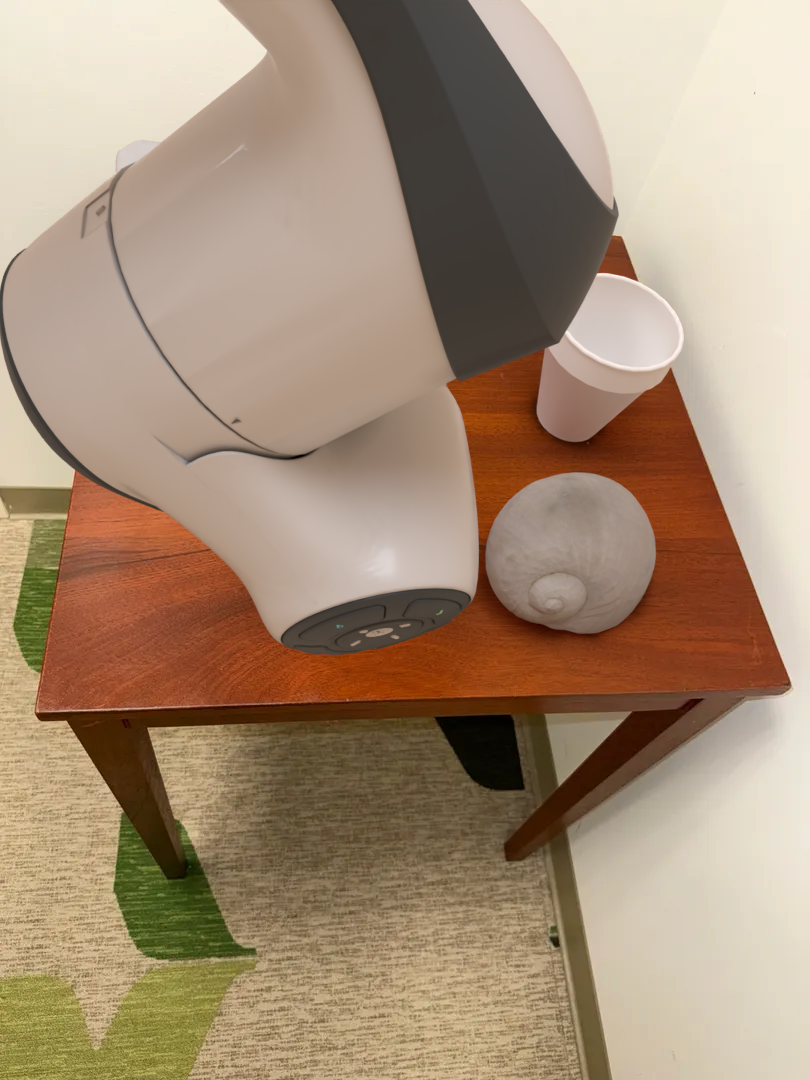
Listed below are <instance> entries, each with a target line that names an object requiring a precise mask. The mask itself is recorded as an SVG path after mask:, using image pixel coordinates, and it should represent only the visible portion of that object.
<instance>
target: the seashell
mask: <svg viewBox="0 0 810 1080" xmlns="http://www.w3.org/2000/svg"><path fill="white" fill-rule="evenodd" d="M656 559H657V548H656V538H655V534H654V529H653V527H652V524H651V522H650V519H649V517H648V514H647V513H646V512H645V510H644V508H643V507H642V505H641V503H639V501H638V500H637V498H636V497H635V495H633V493H632V492H631V491H630V490H628V489H627V488H625V487H624V486H623V485H622V484H620V483H618V482H617V481H616V480H613V479H611V478H609V477H607V476H603V475H600V474H596V473H591V472H580V471H579V472H577V471H576V472H575V471H573V472H565V473H559V474H554V475H550V476H548V477H544V478H541V479H538V480H535V481H533V482H531V483H529V484H527V485H526V486H525V487H523V488H522V489H520V490H519V491H518V492H516V493H515V494H514V495H513V496H512V497H511V498H510V499H508V501H507V502H506V504H504V505H503V507H502V508H501V510H500V511H499V512H498V514H497V515H496V517H495V518H494V521H493V523H492V525H491V528H490V529H489V534H488V536H487V539H486V546H485V571H486V574H487V578H488V581H489V584H490V586H491V589H492V591H493V593H494V594H495V596H496V597H497V599H498V600H499V602H500V603H501V604H502V605H503V606H504V607H505V608H506V609H507V610H508V612H511V613H512V614H513V615H515V616H516V617H517V618H519V619H522V620H524V621H526V622H529V623H532V624H537V625H538V624H539V625H543V626H546V627H547V628H548V629H552V630H555V631H557V630H558V631H568V632H572V633H576V634H578V635H579V634H599V633H601V632H603V631H606V630H609V629H612V628H616V627H617V626H618V625H619V624H621V623H622V622H623V621H624V620H626V619H627V618H628V617H629V616H630V615H631V613H633V611H634V610H635V608H636V607H637V606H638V605H639V603H640V602H641V600H642V599H643V597H644V595H645V593H646V591H647V590H648V586H649V585H650V582H651V580H652V577H653V573H654V569H655V566H656Z"/></svg>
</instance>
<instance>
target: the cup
mask: <svg viewBox="0 0 810 1080" xmlns="http://www.w3.org/2000/svg"><path fill="white" fill-rule="evenodd" d="M681 322H682V321H681V320H680V318H679V316H678V314H677V312H676V311H675V310H674V308H673V307H672V306H671V305H670V303H669V302H668V301H667V300H666V299H665V298H664V297H662V296H661V295H660V294H659V293H658V292H656V291H655V290H653V289H652V288H650V287H648V286H646V285H645V284H643V283H641V282H640V281H638V280H635V279H631V278H630V277H627V276H624V275H618V274H613V273H608V272H607V273H606V272H601V273H599V272H598V273H597V275H596V277H595V279H594V281H593V283H592V285H591V287H590V289H589V291H588V293H587V295H586V297H585V299H584V301H583V303H582V305H581V307H580V308H579V310H578V312H577V314H576V316H575V317H574V319H573V321H572V322H571V324H570V326H569V327H568V329H567V331H566V332H565V334H564V336H563V337H562V339H561V340H560V342H559V343H558V344H555V345H553V346H550V347H548V348H545V349H544V352H543V359H542V366H541V374H540V379H539V388H538V395H537V402H536V415H537V418H538V422H539V423H540V425H541V426H542V427H543V429H545V430H546V431H547V432H548V433H549V434H550V435H552V436H554V437H555V438H557V439H559V440H562V441H565V442H570V443H571V442H572V443H579V442H581V443H582V442H584V441H588V440H590V439H591V438H592V437H594V436H595V435H596V434H597V433H598V432H600V430H602V429H603V428H604V427H606V425H608V423H610V422H611V421H612V420H614V419H615V418H616V417H617V416H618V415H619V414H620V413H621V412H622V411H624V410H625V409H626V408H627V407H628V406H629V405H631V404H632V403H633V402H634V401H635V400H636V399H638V398H639V397H640V396H642V395H643V394H644V393H645V392H646V391H648V390H651V389H653V388H654V387H656V386H657V385H659V384H660V383H662V382H663V380H664V378H665V377H666V376H667V374H668V372H670V369H671V367H672V366H673V364H674V362H675V361H676V360H677V359H678V358H679V355H680V354H681V353H682V351H683V347H684V341H685V335H684V334H685V333H684V328H683V324H682V323H681Z"/></svg>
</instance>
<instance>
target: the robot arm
mask: <svg viewBox="0 0 810 1080" xmlns="http://www.w3.org/2000/svg"><path fill="white" fill-rule="evenodd" d="M217 2H219V4H221V5H222V6H223V8H225V10H226V11H227V12H229V13H230V14H231V15H232V16H233V17H234V18H235V20H236V21H237V22H239V23H240V25H242V27H244V28H245V30H247V32H249V33H250V35H251V36H252V37H253V38H254V39H256V40H257V41H258V43H259V44H260V45H261V46H262V47H263V48H264V49H265V50H266V53H265V55H264V56H263V58H262V59H261V60H260V61H259V62H258V63H257V64H255V66H254V67H253V68H252V69H251V70H250V71H248V72H247V73H246V74H245V75H244V76H242V77H241V78H240V79H238V80H237V81H236V82H235V83H233V84H232V85H231V86H229V88H227V89H226V90H224V92H222V93H221V94H220V95H218V96H217V97H216V98H215V99H213V100H212V101H211V102H210V103H207V105H206V106H205V107H204V108H202V109H200V110H199V111H198V112H197V113H196V114H194V115H193V116H192V117H191V118H189V119H188V120H187V121H186V122H184V123H183V124H182V125H181V126H180V127H178V128H177V129H176V130H174V131H173V132H172V133H171V134H169V135H168V136H167V137H166V138H164V139H163V140H162V141H156V140H147V139H146V140H145V139H140V140H139V139H138V140H135V141H132V142H130V143H129V144H127V145H125V146H124V147H122V148H120V149H119V150H118V151H117V153H116V155H115V172H114V174H113V175H112V176H110V177H109V178H108V179H106V180H105V181H104V182H103V183H102V184H100V185H99V186H98V187H97V188H95V189H94V190H93V191H91V193H89V194H88V195H86V196H85V197H84V198H83V199H82V200H80V201H79V202H78V203H77V204H75V205H74V206H73V207H72V208H71V209H69V211H67V212H66V213H65V214H64V215H63V216H62V217H60V218H59V219H58V220H56V221H55V222H54V223H53V224H51V225H50V226H49V227H48V228H47V229H46V230H45V231H43V232H42V233H41V234H40V235H38V236H37V237H36V239H34V240H33V241H32V242H31V243H30V244H29V245H28V246H27V247H26V248H23V249H22V250H20V251H19V252H17V254H15V256H14V257H13V258H11V260H10V262H8V265H7V267H6V268H5V271H4V273H3V276H2V278H1V283H0V345H1V350H2V355H3V359H4V362H5V367H6V369H7V373H8V376H9V379H10V382H11V384H12V386H13V390H14V392H15V394H16V396H17V398H18V400H19V402H20V404H21V407H22V408H23V410H24V413H25V415H26V416H27V417H28V419H29V421H30V423H31V425H33V427H34V428H35V430H36V432H37V433H38V434H39V436H40V438H42V439H43V441H44V442H45V443H46V444H47V446H48V447H49V448H50V449H51V451H53V452H54V453H55V454H56V455H57V456H58V457H59V458H60V459H61V460H62V461H64V462H65V463H66V465H68V466H69V467H71V468H72V469H73V470H74V471H76V472H77V473H78V474H80V475H81V476H82V477H84V478H86V479H88V480H89V481H91V482H92V483H94V484H96V485H98V486H100V487H102V488H104V489H106V490H108V491H110V492H112V493H115V494H117V495H119V496H121V497H123V498H126V499H128V500H131V501H133V502H136V503H139V504H140V505H144V506H146V507H149V508H151V509H154V510H156V511H159V512H162V513H164V514H166V515H167V516H169V517H170V518H171V519H173V520H174V521H175V522H177V523H178V524H179V525H181V526H182V527H183V528H184V529H185V530H187V532H189V533H190V534H191V535H193V536H194V537H195V538H197V539H198V540H199V541H200V542H201V543H203V544H204V545H205V546H206V547H207V548H209V549H210V551H212V552H213V553H214V554H215V555H216V556H218V557H219V559H221V560H222V561H223V562H224V563H225V564H226V566H228V567H229V568H230V569H231V570H232V572H234V574H235V575H236V576H237V578H238V579H239V580H240V581H241V583H242V584H243V586H244V587H245V589H246V590H247V592H248V594H249V596H250V598H251V599H252V602H253V604H254V606H255V608H256V610H257V613H258V615H259V617H260V620H261V621H262V623H263V625H264V626H265V628H266V630H267V631H268V633H269V634H270V636H271V637H272V638H273V639H274V640H275V641H276V642H277V643H279V644H280V645H282V646H284V647H286V648H288V649H291V650H295V651H300V652H302V653H304V654H308V655H318V656H323V655H324V656H341V655H353V654H354V655H355V654H358V653H360V652H366V651H371V650H380V649H384V648H387V647H390V646H394V645H397V644H400V643H403V642H406V641H410V640H412V639H415V638H417V637H420V636H422V635H424V634H427V633H429V632H433V631H435V630H437V629H441V628H442V627H444V626H446V625H447V624H449V623H451V622H452V621H453V620H454V619H455V618H456V617H457V616H459V615H460V614H461V613H462V612H463V611H464V610H466V609H467V608H468V607H469V606H470V605H471V603H472V601H473V600H474V598H475V596H476V592H477V586H478V580H479V565H480V563H479V559H480V557H479V556H480V546H479V545H480V542H479V520H478V508H477V507H478V506H477V500H476V499H477V498H476V487H475V481H474V473H473V466H472V459H471V453H470V449H469V448H470V447H469V442H468V437H467V431H466V427H465V422H464V418H463V414H462V411H461V408H460V406H459V404H458V403H457V400H456V398H455V397H454V395H453V394H452V392H451V391H450V389H449V387H448V384H449V383H451V382H453V381H454V380H456V379H457V381H458V382H459V383H462V382H463V381H467V380H469V379H472V378H473V377H476V376H478V375H481V374H484V373H487V372H489V371H491V370H494V369H497V368H498V367H501V366H505V365H507V364H509V363H513V362H514V361H517V360H519V359H521V358H524V357H527V356H530V355H532V354H534V353H537V352H540V351H543V350H545V348H548V347H550V346H553V345H555V344H558V343H559V342H560V340H561V339H562V337H563V336H564V334H565V332H566V331H567V329H568V327H569V326H570V324H571V322H572V321H573V319H574V317H575V316H576V314H577V312H578V310H579V308H580V307H581V305H582V303H583V301H584V299H585V297H586V295H587V293H588V291H589V289H590V287H591V285H592V283H593V281H594V279H595V277H596V275H597V273H599V270H600V268H601V266H602V263H603V261H604V258H605V256H606V253H607V251H608V248H609V246H610V243H611V241H612V238H613V235H614V232H615V228H616V225H617V222H618V219H619V215H620V213H619V207H618V204H617V200H616V197H615V194H614V180H613V173H612V168H611V160H610V156H609V152H608V147H607V144H606V142H605V138H604V134H603V131H602V128H601V125H600V122H599V120H598V117H597V114H596V111H595V109H594V108H593V107H594V106H593V105H592V102H591V100H590V99H589V96H588V94H587V92H586V90H585V88H584V85H583V84H582V82H581V80H580V78H579V76H578V74H577V72H576V71H575V70H574V68H573V67H572V65H571V63H570V61H569V60H568V58H567V56H566V55H565V53H564V52H563V50H562V49H561V47H560V45H558V43H557V41H556V40H555V39H554V38H553V36H552V35H551V34H550V33H549V31H548V29H547V28H546V27H545V26H544V25H543V24H542V23H541V21H540V20H539V19H538V18H537V17H536V15H535V14H534V13H533V12H532V11H531V10H530V9H529V8H528V7H527V6H526V4H525V3H524V2H523V1H522V0H217Z"/></svg>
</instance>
